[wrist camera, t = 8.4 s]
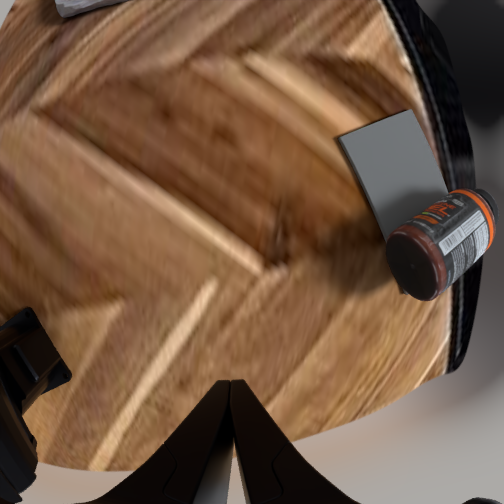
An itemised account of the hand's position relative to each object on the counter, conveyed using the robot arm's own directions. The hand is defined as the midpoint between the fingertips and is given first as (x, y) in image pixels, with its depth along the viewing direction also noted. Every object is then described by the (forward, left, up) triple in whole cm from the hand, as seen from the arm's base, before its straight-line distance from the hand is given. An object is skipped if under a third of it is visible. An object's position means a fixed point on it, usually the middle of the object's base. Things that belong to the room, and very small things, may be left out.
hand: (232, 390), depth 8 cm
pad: (+18, -1, -12) cm, 22 cm away
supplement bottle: (+13, -4, -8) cm, 16 cm away
